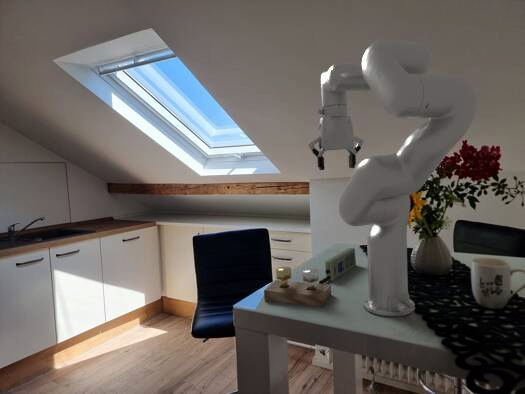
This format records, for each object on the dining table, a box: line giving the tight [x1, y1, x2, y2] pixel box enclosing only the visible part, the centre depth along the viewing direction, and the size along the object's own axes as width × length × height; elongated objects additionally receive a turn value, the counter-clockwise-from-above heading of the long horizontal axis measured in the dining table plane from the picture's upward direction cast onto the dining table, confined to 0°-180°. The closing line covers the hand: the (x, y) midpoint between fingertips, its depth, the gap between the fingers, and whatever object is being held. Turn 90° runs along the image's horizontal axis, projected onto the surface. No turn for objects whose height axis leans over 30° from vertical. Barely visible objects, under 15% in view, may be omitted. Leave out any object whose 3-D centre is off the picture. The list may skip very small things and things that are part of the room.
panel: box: [263, 279, 332, 308], centre depth 105 cm, size 17×9×3 cm, turn 66°
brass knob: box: [275, 266, 292, 288], centre depth 106 cm, size 4×4×6 cm
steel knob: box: [301, 267, 320, 291], centre depth 103 cm, size 4×4×6 cm
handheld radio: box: [318, 247, 357, 284], centre depth 123 cm, size 7×3×25 cm
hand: (336, 168), depth 114 cm, fingers open, 9 cm apart
